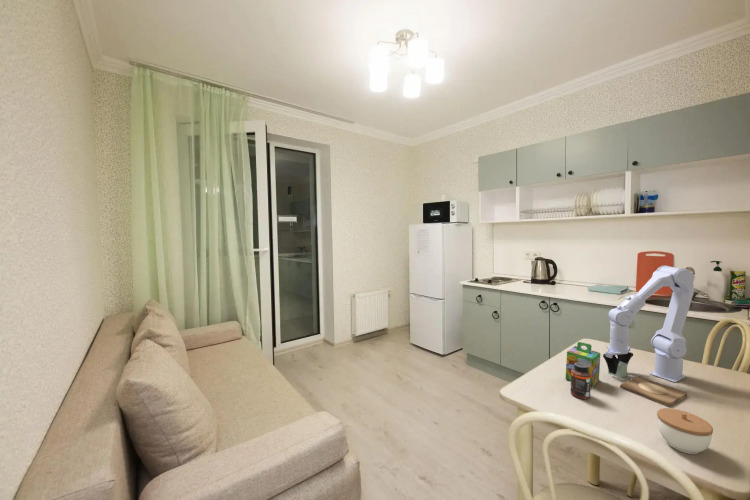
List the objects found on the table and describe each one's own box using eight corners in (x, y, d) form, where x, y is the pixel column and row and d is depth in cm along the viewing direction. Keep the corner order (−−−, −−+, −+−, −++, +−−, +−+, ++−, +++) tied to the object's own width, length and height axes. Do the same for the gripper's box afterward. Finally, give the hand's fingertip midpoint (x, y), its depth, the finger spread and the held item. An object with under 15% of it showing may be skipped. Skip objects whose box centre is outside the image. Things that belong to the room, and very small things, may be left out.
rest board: (639, 379, 121) (639, 375, 120) (687, 396, 108) (687, 392, 108) (620, 387, 114) (620, 384, 114) (668, 407, 102) (669, 403, 102)
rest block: (614, 371, 128) (614, 359, 127) (626, 375, 124) (627, 363, 123) (608, 373, 126) (608, 361, 125) (620, 378, 122) (621, 366, 121)
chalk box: (565, 379, 121) (565, 343, 120) (573, 372, 127) (574, 337, 126) (592, 388, 114) (593, 350, 113) (600, 380, 120) (601, 344, 119)
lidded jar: (645, 434, 89) (647, 403, 88) (679, 431, 90) (680, 401, 89) (685, 462, 78) (688, 427, 78) (723, 459, 79) (725, 424, 78)
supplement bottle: (593, 400, 106) (594, 369, 106) (574, 399, 108) (575, 368, 107) (585, 391, 112) (586, 361, 111) (567, 390, 113) (568, 360, 113)
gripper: (617, 332, 130) (615, 363, 131) (597, 338, 124) (596, 371, 125) (637, 337, 124) (635, 370, 125) (617, 344, 118) (616, 378, 119)
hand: (617, 371), depth 125 cm, fingers open, 7 cm apart
